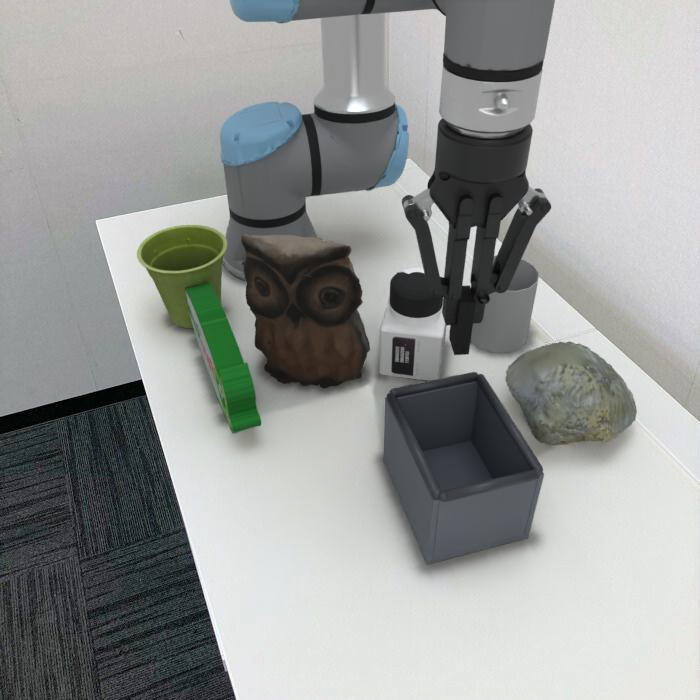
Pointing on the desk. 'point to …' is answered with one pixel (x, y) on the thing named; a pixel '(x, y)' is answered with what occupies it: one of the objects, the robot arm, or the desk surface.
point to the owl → (305, 309)
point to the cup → (508, 313)
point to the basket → (459, 466)
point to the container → (412, 329)
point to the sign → (223, 358)
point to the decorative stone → (570, 394)
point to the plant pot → (183, 264)
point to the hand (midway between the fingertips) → (458, 345)
